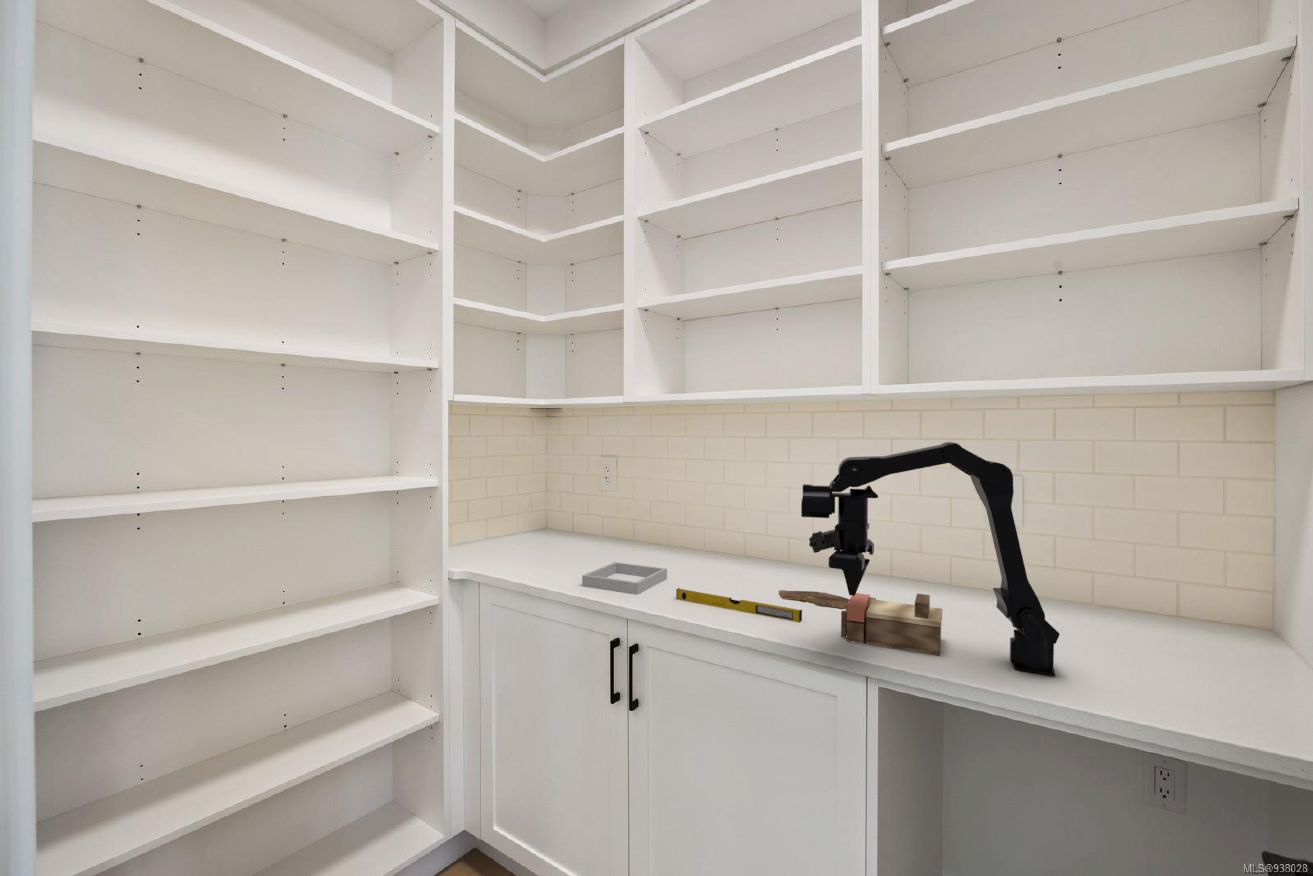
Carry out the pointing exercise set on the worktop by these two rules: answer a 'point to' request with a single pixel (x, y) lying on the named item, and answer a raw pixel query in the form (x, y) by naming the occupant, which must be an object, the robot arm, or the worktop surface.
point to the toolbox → (892, 634)
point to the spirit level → (740, 605)
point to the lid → (907, 611)
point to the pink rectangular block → (858, 607)
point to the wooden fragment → (815, 598)
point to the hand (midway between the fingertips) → (852, 595)
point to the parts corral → (599, 581)
